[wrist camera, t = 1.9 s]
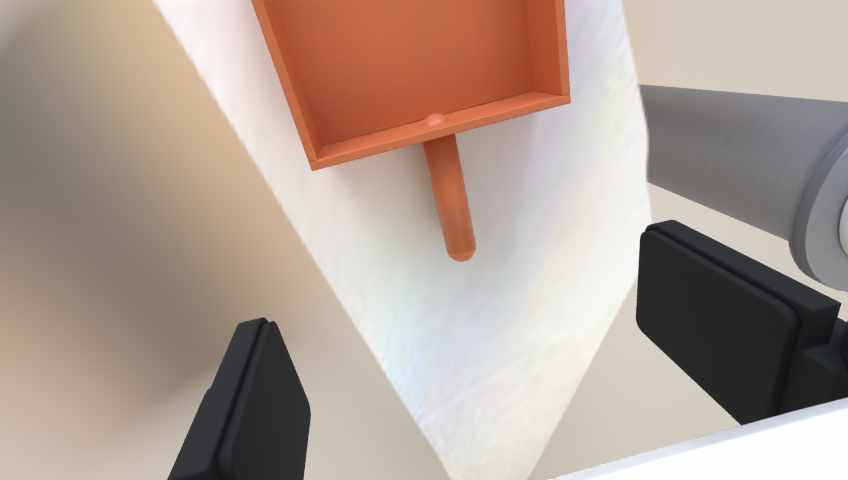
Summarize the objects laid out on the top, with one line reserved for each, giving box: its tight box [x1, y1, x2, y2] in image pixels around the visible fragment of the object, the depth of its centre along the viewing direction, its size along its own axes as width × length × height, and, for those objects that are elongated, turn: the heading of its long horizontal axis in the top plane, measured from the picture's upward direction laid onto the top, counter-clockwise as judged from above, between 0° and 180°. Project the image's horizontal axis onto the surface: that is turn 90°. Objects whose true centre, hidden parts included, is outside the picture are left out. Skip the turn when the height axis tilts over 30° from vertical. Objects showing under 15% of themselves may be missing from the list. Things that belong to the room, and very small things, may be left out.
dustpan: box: [251, 0, 571, 261], centre depth 24 cm, size 22×15×4 cm
